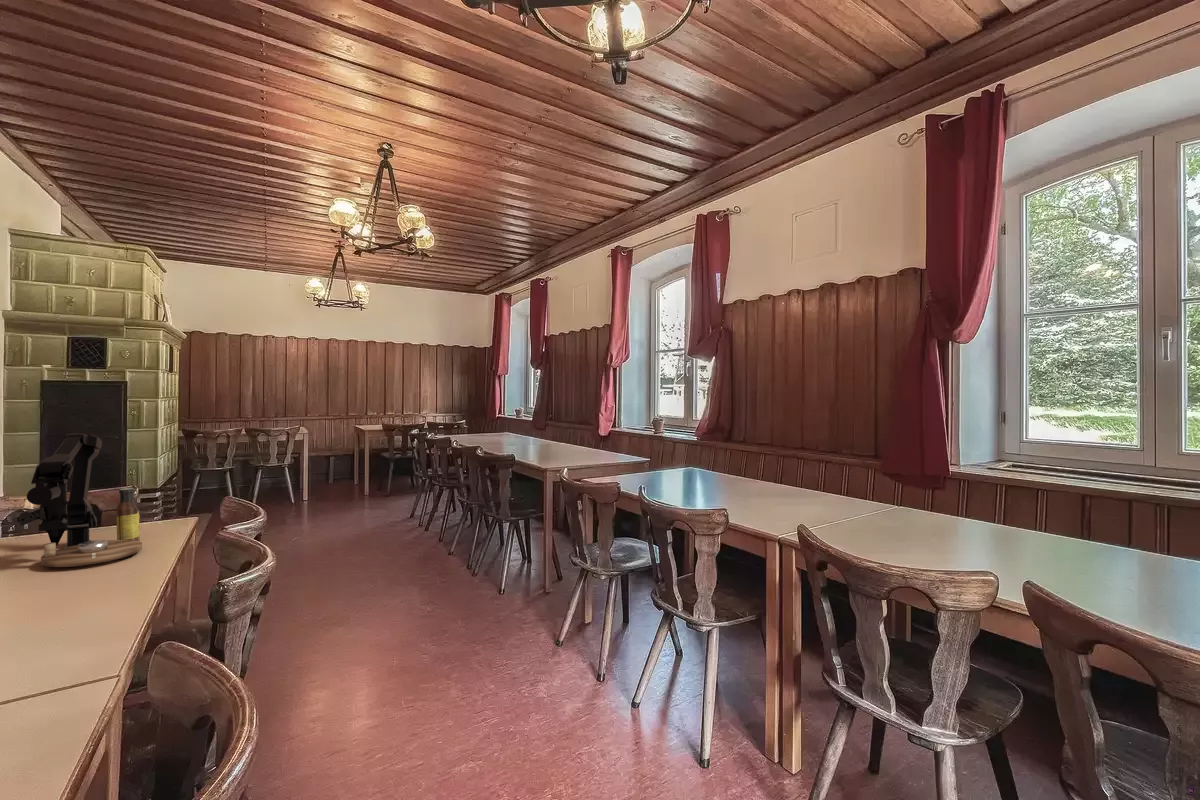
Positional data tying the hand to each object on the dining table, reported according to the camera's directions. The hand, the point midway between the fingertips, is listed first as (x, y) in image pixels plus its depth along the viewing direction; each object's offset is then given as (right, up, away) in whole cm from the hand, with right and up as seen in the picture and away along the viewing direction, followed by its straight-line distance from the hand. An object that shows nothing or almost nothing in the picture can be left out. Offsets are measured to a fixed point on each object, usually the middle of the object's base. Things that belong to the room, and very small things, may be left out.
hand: (54, 546), depth 170 cm
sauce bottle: (+6, -5, +20) cm, 22 cm away
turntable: (+11, -3, +2) cm, 12 cm away
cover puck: (+11, -2, +2) cm, 11 cm away
